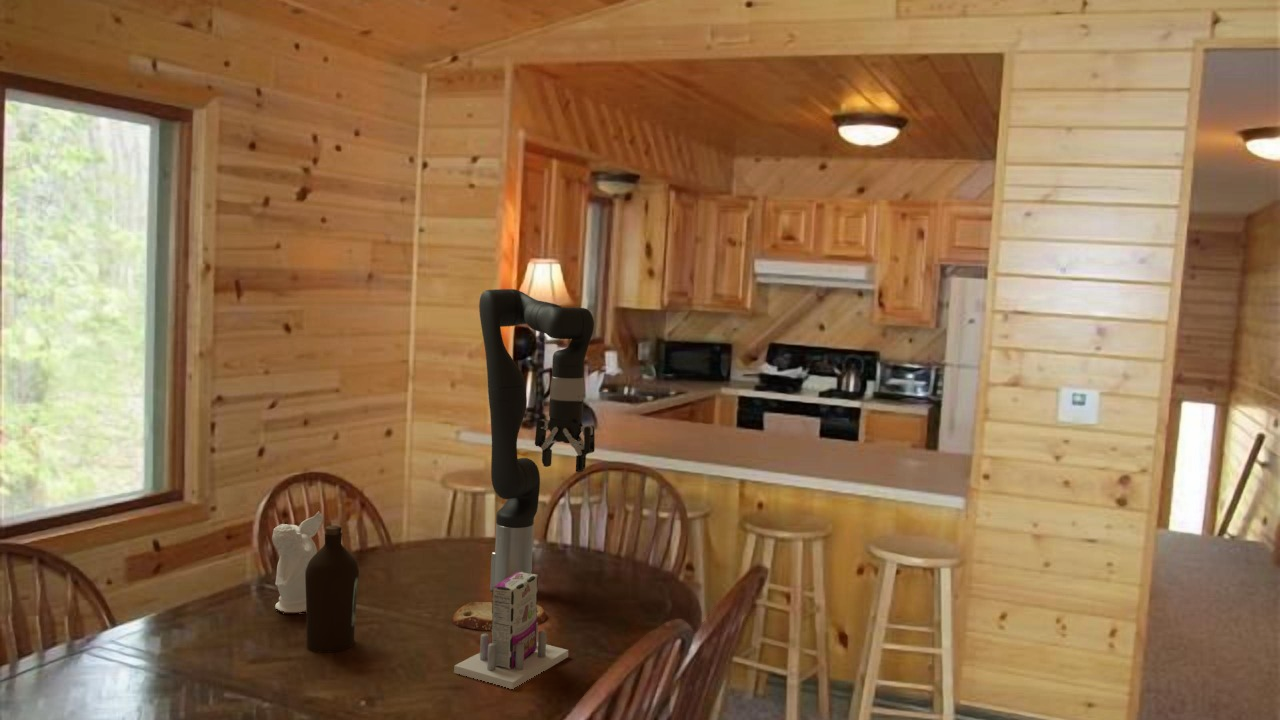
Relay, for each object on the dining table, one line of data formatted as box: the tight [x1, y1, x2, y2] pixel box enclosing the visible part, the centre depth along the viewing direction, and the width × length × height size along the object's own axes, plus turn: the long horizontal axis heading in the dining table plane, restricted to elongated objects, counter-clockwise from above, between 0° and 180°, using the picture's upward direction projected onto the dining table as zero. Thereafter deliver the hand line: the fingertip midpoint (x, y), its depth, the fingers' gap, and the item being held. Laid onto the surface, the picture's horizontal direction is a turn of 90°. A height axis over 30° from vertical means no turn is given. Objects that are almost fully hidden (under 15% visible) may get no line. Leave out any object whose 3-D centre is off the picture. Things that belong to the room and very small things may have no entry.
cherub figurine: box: [271, 510, 324, 612], centre depth 229 cm, size 12×12×22 cm
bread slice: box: [450, 601, 547, 631], centre depth 228 cm, size 18×18×4 cm
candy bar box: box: [490, 572, 539, 669], centre depth 201 cm, size 11×5×16 cm, turn 160°
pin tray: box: [453, 622, 569, 690], centre depth 202 cm, size 14×20×6 cm
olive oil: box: [305, 524, 360, 653], centre depth 207 cm, size 11×11×25 cm
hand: (563, 468), depth 223 cm, fingers open, 8 cm apart
